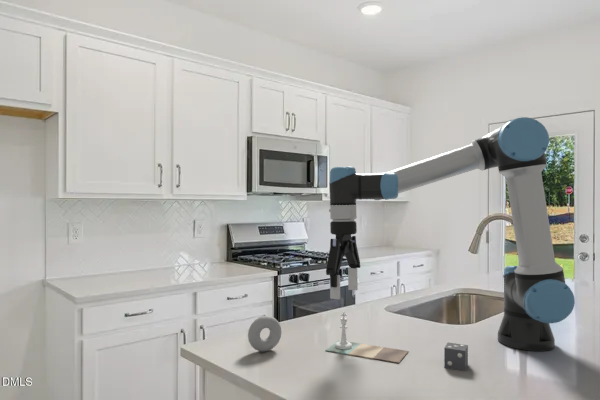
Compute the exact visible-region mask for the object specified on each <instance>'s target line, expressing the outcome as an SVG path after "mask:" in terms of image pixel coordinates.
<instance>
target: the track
mask: <svg viewBox="0 0 600 400" xmlns="http://www.w3.org/2000/svg"><path fill="white" fill-rule="evenodd" d="M340 340H341V339H339V340H337V341H336V342H334V343H332V345H330V346H329V347H327V348H326V349H325V352H329V353H335V354H342V355H347V356H352V357H357V358H358V357H360V358H364V359H369V360H377V361H381V362H388V363H394V364H400V363H401V362H402V361H403V359H404V358H405V357H406V355H408V353H409V350H406V349H405V350H404V349H398V348H391V347H387V346H386V347H385V346H380V345H371V344H366V343H359V342H353V341H349V342H350V343H351V344H352V348H351V349H338V348H336V347H335V344H336V343H337V342H340Z"/></svg>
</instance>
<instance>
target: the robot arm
mask: <svg viewBox="0 0 600 400" xmlns="http://www.w3.org/2000/svg"><path fill="white" fill-rule="evenodd" d="M549 143H550V135H549V132H548V130H547V128H546V127H545V126H544V124H543V123H542V122H540V121H538V120H537V119H535V118H532V117H527V116H526V117H525V116H524V117H523V116H522V117H517V118H513V119H510V120H508V121H506V122H505V123H504V124H502V125H501V126H499V127H497V128H496V129H494V130H493V131H491V132H489V133H487V134H486V135H484V136H481V137H479V138H476V139H473V140H471V142H470V144H469V145H465V146H462V147H459V148H456V149H453V150H450V151H447V152H444V153H440V154H438V155H435V156H432V157H430V158H426V159H423V160H420V161H417V162H413V163H411V164H408V165H405V166H401V167H399V168H396V169H393V170H389V171H386V172H377V173H376V172H373V173H357V169H356V168H355V167H354V166H336V167H335V166H334V167H332V168H331V169H330V170H329V182H328V183H329V206H330V207H329V210H328V212H329V214H330V215H329V216H330V218H329V219H331V222H330V223H329V224H330V225H329V226H330V229H329V230H330V234H331V235H335V238H330V247H329V251H328V252H329V253H328V258H327V264H326V270H325V274H326V276H329V297H330V300H332V299H333V300H341V274H339V273H340V270H341V265H342V262H343V258H344V256H345V258H346V261H347V264H348V266H349V267H347V283H348V286H347V288H348V291H358V289H359V288H358V286H359V285H358V281H359V280H358V269H360V268H361V261H360V256H359V250H358V246H357V236H356V234H357V233H358V232H357V231H358V229H357V222H356V219H357V217H358V216H357V200H374V201H380V200H387V201H388V200H394V199H398V197H399V194H401V193H405V192H407V191H411V190H414V189H417V188H420V187H421V188H422V187H423V186H426V185H430V184H433V183H436V182H439V181H443V180H445V179H449V178H453V177H455V176H459V175H462V174H466V173H468V172H471V171H475V170H480V171H485V170H489V169H492V168H493V169H494V168H496V167H497V169H498V173H499V174H500V175H502V176H504V178H505V181H506V187H507V194H508V198H509V205H510V211H511V217H512V218H511V219H512V223H513V232H514V237H515V238H514V239H515V244H516V251H517V257H518V265H507V266H505V268H504V270H503V275H502V278H503V316H502V319H501V321H500V326H499V328H498V330H497V341H498V342H499V343H500V344H502V345H504V346H507V347H510V348H514V349H519V350H523V351H531V352H532V351H534V352H547V351H551V350H553V349H554V348H555V345H556V343H555V342H556V341H555V336H554V333H553V331H552V328H551V325H550V324H557V323H560V322H562V321H564V320H565V319H567V318H568V317H569V316H570V315H571V314H572V313H573V311H574V308H575V304H576V301H575V300H576V299H575V295H574V293H573V291H572V289H571V288H570V286H569V285H567V284H566V279H565V273H564V268H563V267H562V266H561V265H560V264H558V263H557V261H556V259H555V252H554V245H553V238H552V232H551V228H550V226H551V225H550V221H549V213H548V208H547V201H546V195H545V188H544V182H543V175H542V172H543V171H544V170H545V168H546V167H547V166H548V165H547V159H546V158H547V157H546V151H547V149H548V146H549Z"/></svg>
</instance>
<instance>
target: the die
mask: <svg viewBox="0 0 600 400" xmlns="http://www.w3.org/2000/svg"><path fill="white" fill-rule="evenodd" d="M443 349H444V355H443V356H444V360H443V362H444V364H443V365H444V366H443V367H444V369H451V370H458V371H463V372H466V370H467V367H468V365H469V355H468V354H469V353H468V352H469V345H467V344H463V343H462V344H461V343H457V342H456V343H455V342H447V343H446V345H445V347H444V348H443Z"/></svg>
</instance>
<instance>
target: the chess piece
mask: <svg viewBox="0 0 600 400" xmlns="http://www.w3.org/2000/svg"><path fill="white" fill-rule="evenodd" d="M347 315H348V314H347V313H346V312H345V311H342V313H340V316H341V317H340V322H341V323H340V324H341V325H340V326H339V328H340V329H341V336H340V339H339V340H340V342H337V341H336V342H337V343H336V342H335V343H336V344H335V347H336V348H338V349H351V348H352V344H351V343H350V342H351V341H348V340H347V333H346V332H347V331H346V329H348V326H347V322H348V318H347Z"/></svg>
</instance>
